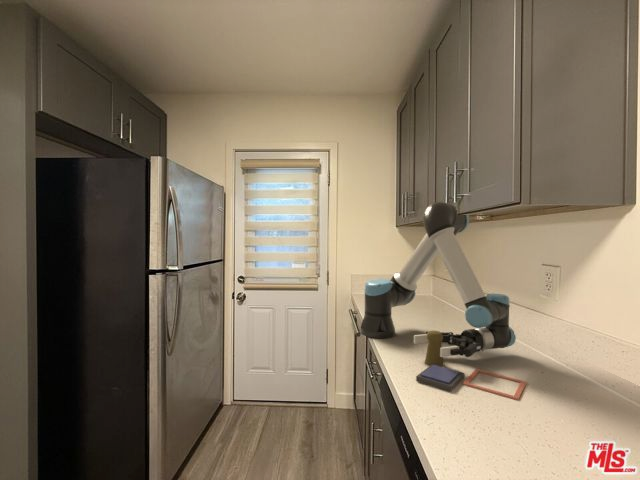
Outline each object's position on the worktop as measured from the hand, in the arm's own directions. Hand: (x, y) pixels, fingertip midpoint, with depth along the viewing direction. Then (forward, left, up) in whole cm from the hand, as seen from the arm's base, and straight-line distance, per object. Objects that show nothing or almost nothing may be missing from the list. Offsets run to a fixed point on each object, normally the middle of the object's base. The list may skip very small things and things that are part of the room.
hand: (426, 345), depth 110 cm
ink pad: (+8, +8, -7) cm, 13 cm away
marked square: (0, +21, -7) cm, 22 cm away
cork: (-3, +2, -7) cm, 7 cm away
